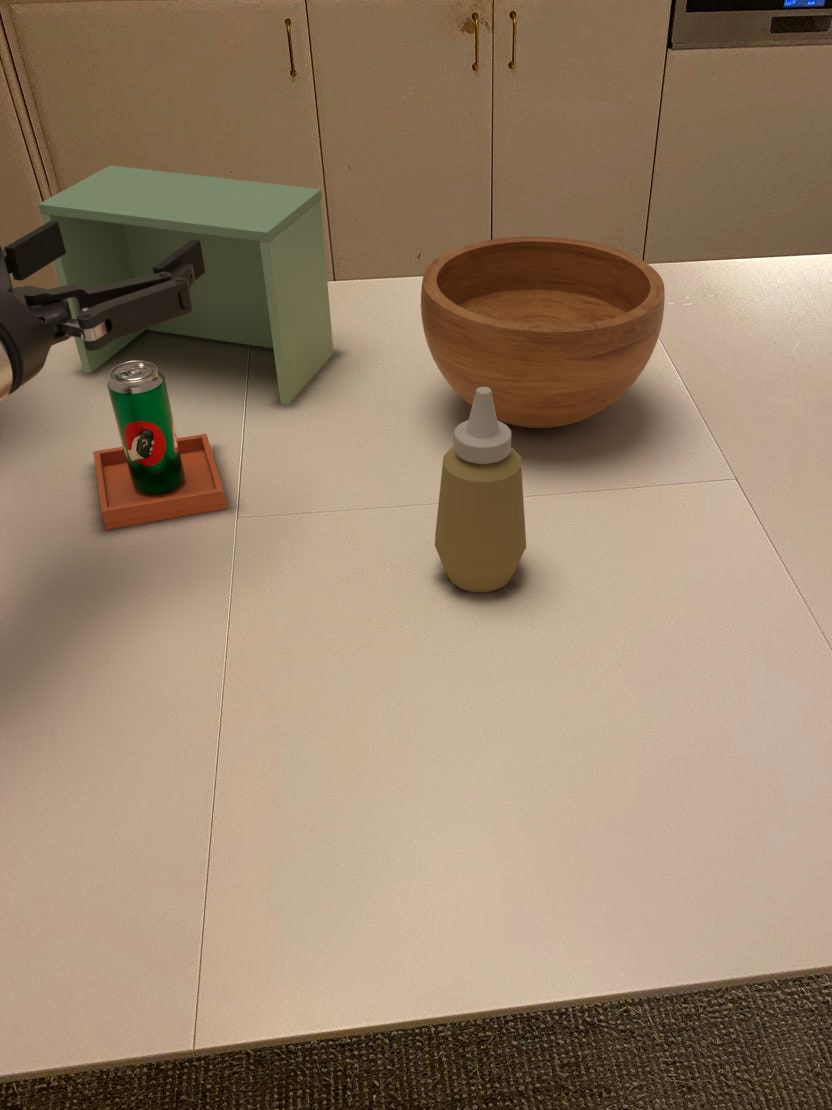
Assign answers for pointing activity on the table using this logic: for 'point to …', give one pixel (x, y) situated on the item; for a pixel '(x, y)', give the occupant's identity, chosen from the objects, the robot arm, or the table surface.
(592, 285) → the bowl
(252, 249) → the cubby
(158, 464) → the soda can
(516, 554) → the squeeze bottle
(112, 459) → the tray
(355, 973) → the table surface
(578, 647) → the table surface
